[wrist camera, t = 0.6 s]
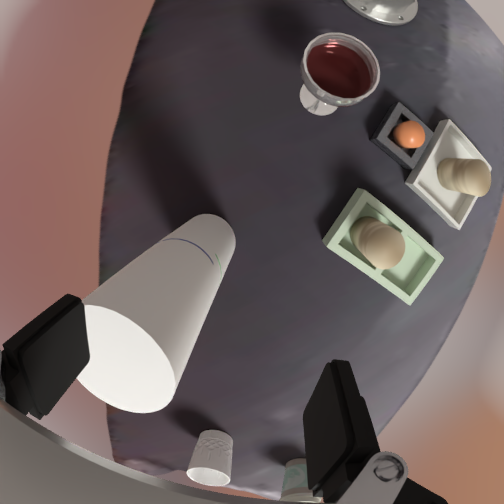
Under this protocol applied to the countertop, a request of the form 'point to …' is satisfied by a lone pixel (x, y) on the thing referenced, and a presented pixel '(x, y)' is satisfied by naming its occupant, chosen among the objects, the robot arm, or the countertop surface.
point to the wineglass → (337, 73)
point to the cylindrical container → (154, 315)
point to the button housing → (386, 139)
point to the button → (409, 134)
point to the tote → (426, 181)
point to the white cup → (211, 459)
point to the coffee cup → (297, 483)
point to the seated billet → (377, 242)
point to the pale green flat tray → (412, 263)
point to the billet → (464, 176)
